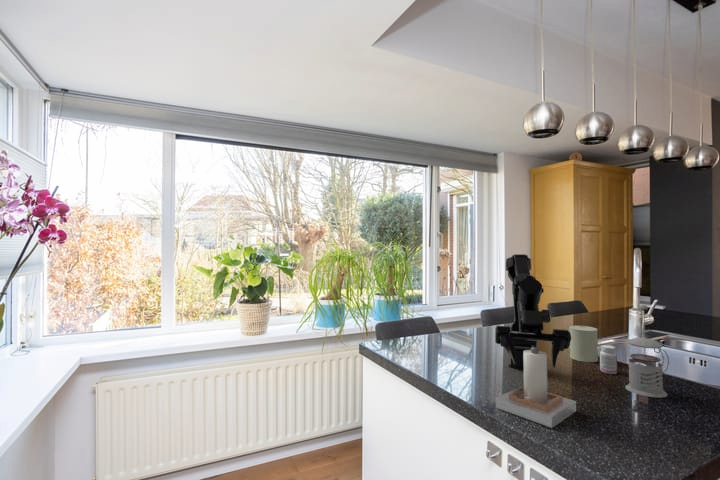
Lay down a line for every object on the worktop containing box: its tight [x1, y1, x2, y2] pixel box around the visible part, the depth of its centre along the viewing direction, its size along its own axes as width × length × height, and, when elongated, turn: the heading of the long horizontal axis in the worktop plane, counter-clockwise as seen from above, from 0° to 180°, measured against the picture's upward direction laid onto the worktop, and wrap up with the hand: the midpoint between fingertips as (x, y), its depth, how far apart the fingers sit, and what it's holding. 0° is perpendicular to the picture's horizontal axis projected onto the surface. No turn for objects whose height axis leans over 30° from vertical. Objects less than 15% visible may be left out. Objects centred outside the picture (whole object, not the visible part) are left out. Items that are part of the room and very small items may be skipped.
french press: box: [624, 304, 670, 399], centre depth 106 cm, size 10×12×25 cm
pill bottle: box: [599, 344, 618, 375], centre depth 122 cm, size 5×5×8 cm
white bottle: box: [523, 346, 548, 404], centre depth 94 cm, size 6×6×13 cm
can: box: [569, 325, 599, 363], centre depth 137 cm, size 9×9×12 cm
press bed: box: [495, 384, 577, 429], centre depth 93 cm, size 14×14×4 cm
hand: (534, 365), depth 95 cm, fingers open, 9 cm apart
